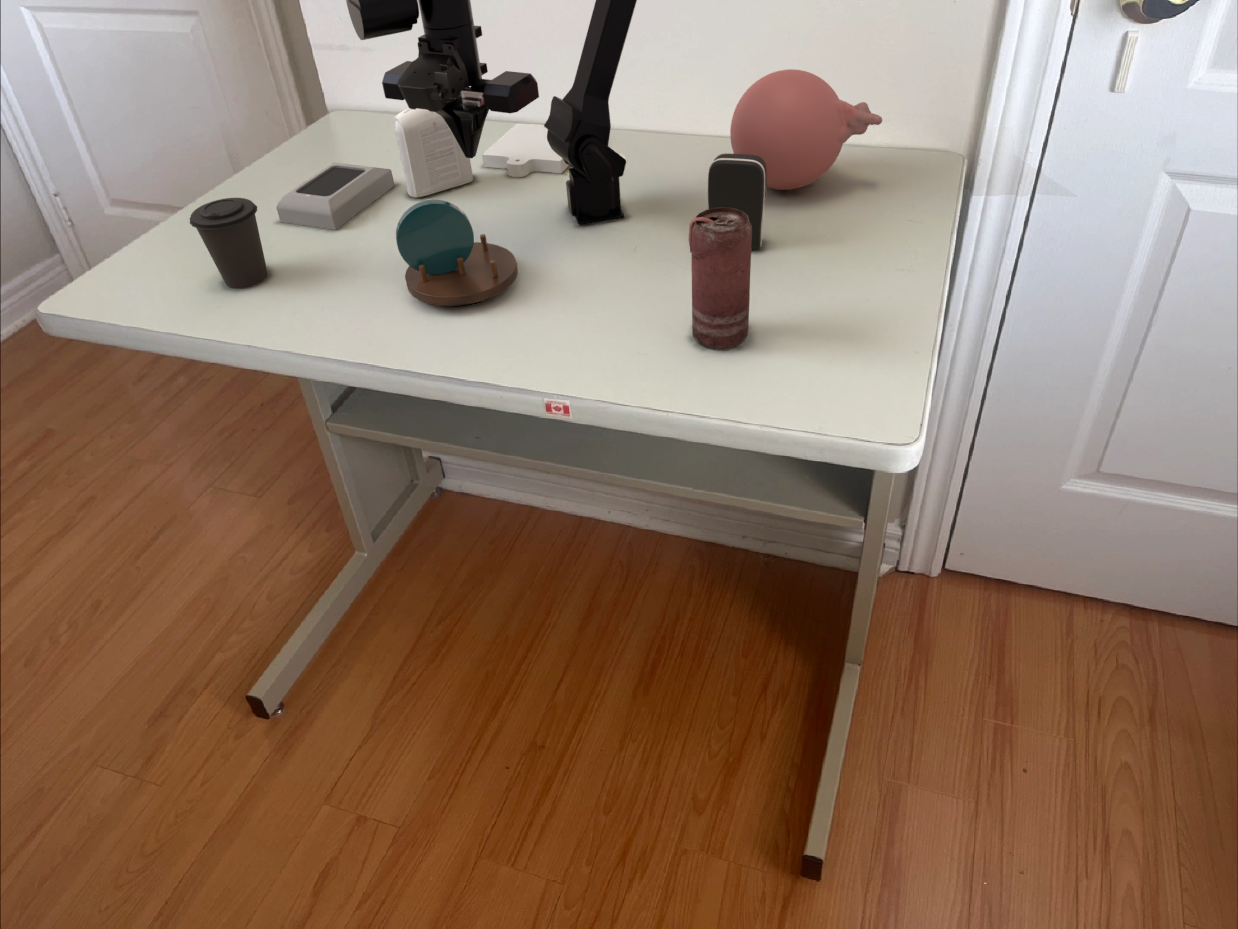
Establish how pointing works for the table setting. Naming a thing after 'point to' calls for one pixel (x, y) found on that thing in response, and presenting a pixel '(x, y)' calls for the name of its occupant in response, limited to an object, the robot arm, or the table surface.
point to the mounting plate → (524, 152)
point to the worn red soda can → (720, 277)
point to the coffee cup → (232, 240)
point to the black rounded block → (739, 188)
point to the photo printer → (429, 153)
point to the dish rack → (450, 257)
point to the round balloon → (795, 126)
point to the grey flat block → (334, 195)
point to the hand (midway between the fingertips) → (470, 156)
